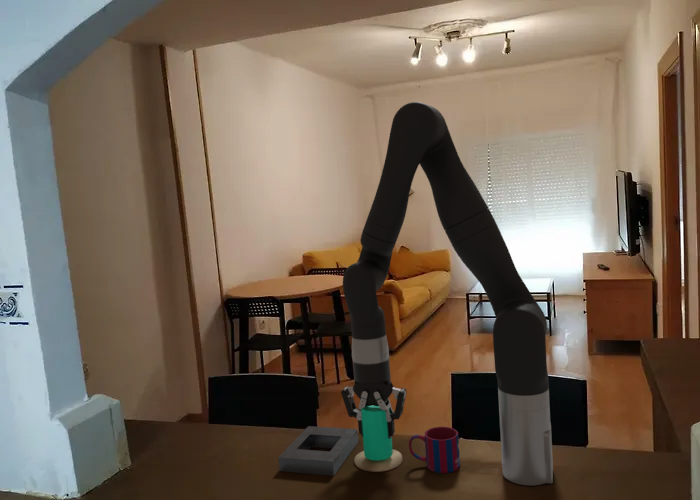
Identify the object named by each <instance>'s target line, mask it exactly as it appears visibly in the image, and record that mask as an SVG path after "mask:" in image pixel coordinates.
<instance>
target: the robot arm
mask: <svg viewBox="0 0 700 500" xmlns="http://www.w3.org/2000/svg"><path fill="white" fill-rule="evenodd" d="M388 137H389V138H388V141H387V142H388V143H387V150H386V154H385V159H384V162H383V163H384V164H383V168H382V171H381V175H380V179H379V182H378V185H377V189H376V192H375V196H374V199H373V200H372V204H371V206H370V210H369V212H368V214H367V218H366V221H365V224H364V225H363V226H364V227H363V229H362V232H361V235H360V239H359V240H360V244H361V246H362V247H361V250H360V254H359V257H358V260H357V262H355V263H352V264H351V265H349V266H347V268H346V269H345V271H344V273H343V277H342V291H343V295H344V300H345V303H346V306H347V309H348V313H349V315H350V327H351V328H350V329H351V358H352V370H353V379H354V383H353V385H352V386H349V385H346V386H345V387H344V388H342V389H341V391H340V394H341V397H342V400H343V403H344V406H345V409H346V412H347V415H348V417H350V418H355V419H356V420H357V427H358V428H357V429H358V434H359V435H361V438H363V428H362V415H361V410H362V409H361V408H363V409H365V408H366V407H367V406H372V405H374V406H379V407H380V409H381V410H384V412H386V421H387V428H388V438H389V439H391V437H392V438H393V436H394V434H395V433H396V432H395V431H396V429H395V428H396V427H395V425H396V424H395V420H399V419H400V418H401V416H402V415H403V413H404V407H405V402H406V396H407V389H406V388H405V387H402V388H397V387H394V384H393V383H392V378H391V365H390V364H391V363H390V350H389V349H390V348H389V343H388V342H389V341H388V339H387V337H388V336H387V330H386V328H387V327H386V317H385V312H384V310H383V308H382V307H381V306H379V300H378V297H377V296H378V295H377V291H379V290H380V289H381V288H382V286H384V284H385V282H386V279H387V277H388V274H389V270H390V266H391V262H392V261H391V260H392V256H393V250H394V248H395V246H396V244H397V242H398V238H399V235H400V233H401V230H402V227H403V223H404V222H405V219H406V215H407V209H408V205H409V204H408V203H409V200H410V199H409V197H410V193H411V187H412V184H413V180H414V179H415V178H414V177H415V175H416V172H417V170H418V168H419V165H420V167H421V169H422V170H423V172H424V174H425V176H426V178H427V179H428V182H429V185H430V188H431V193H432V196H433V201H434V205H435V208H436V211H437V212H436V213H437V215H438V218H439V222H440V224H441V226H442V229H443V230H444V232H445V234H446V237H447V238H448V240H449V243H450V244H451V246H452V248H453V250H454V251H455V253H456V254H457V256H458V257H459V258H460V260H461V261H462V263H463V264H464V265H465V267H466V268H467V269H468V270H469V272H470V273H471V274H472V275H473V276H474V277H475V279H477V281H478V282H479V283H480V286H481V287H482V288H483V290H484V292H485V294H486V297H487V298H488V301H489V304H490V305H491V308H492V311H493V314H494V316H495V321H494V323H493V327H492V343H493V347H492V348H493V357H494V358H493V359H494V370H495V375H496V376H495V377H496V378H497V391H498V392H497V394H498V413H499V430H500V448H501V449H500V450H501V467H502V476H503V477H504V479H506V480H508V481H510V482H511V483H514V484H517V485H522V486H541V485H544V484H553V483H554V481H553V480H554V477H553V475H554V463H553V462H554V461H553V442H552V423H551V409H550V385H549V384H550V383H549V373H548V365H547V363H548V361H547V343H546V341H547V339H546V334H547V329H548V324H547V317H546V315H545V314H544V311H543V309H542V308H541V306H540V305H539V304H538V301H536V299H535V297H534V296H533V295H532V293H531V292H530V289H528V287H527V286H526V284H525V281H524V280H523V279H522V277H521V276H520V273H519V271H518V270H517V268H516V265H515V263H514V260H513V259H512V256H511V253H510V250H509V248H508V246H507V244H506V241H505V239H504V237H503V235H502V233H501V231H500V228H499V226H498V224H497V222H496V220H495V218H494V216H493V214H492V212H491V211H490V208H489V206H488V204H487V203H486V201H485V199H484V197H483V196H482V194H481V192H480V191H479V189H478V187H477V185H476V183H475V182H474V181H473V179H472V176H470V174H469V173H468V171H467V170H466V168H465V166H464V164H463V162H462V161H461V157H460V155H459V154H458V153H459V152H458V151H457V149H456V146H455V144H454V141H453V138H452V136H451V133H450V131H449V128H448V125H447V122H446V120H445V117H444V116H443V113H441V111H440V110H438V109H437V108H436V107H435V106H432V105H429V104H427V103H425V102H419V101H412V102H408V103H406V104H404V105H403V106H401V107H399V109H398V110H397V111H396V112H395V115H393V118H392V123H391V127H390V132H389V136H388ZM354 395H356V396H357V398H358V399H359V400H360V401H359V405H358V408H357V406H356V402H355V398H354ZM391 395H394V396H393V397H394V399H395V400H396V403H395V409H394V410H393V407H392V403H391V400H390V399H389V398H390V397H391ZM389 408H390V412H389Z"/></svg>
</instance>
